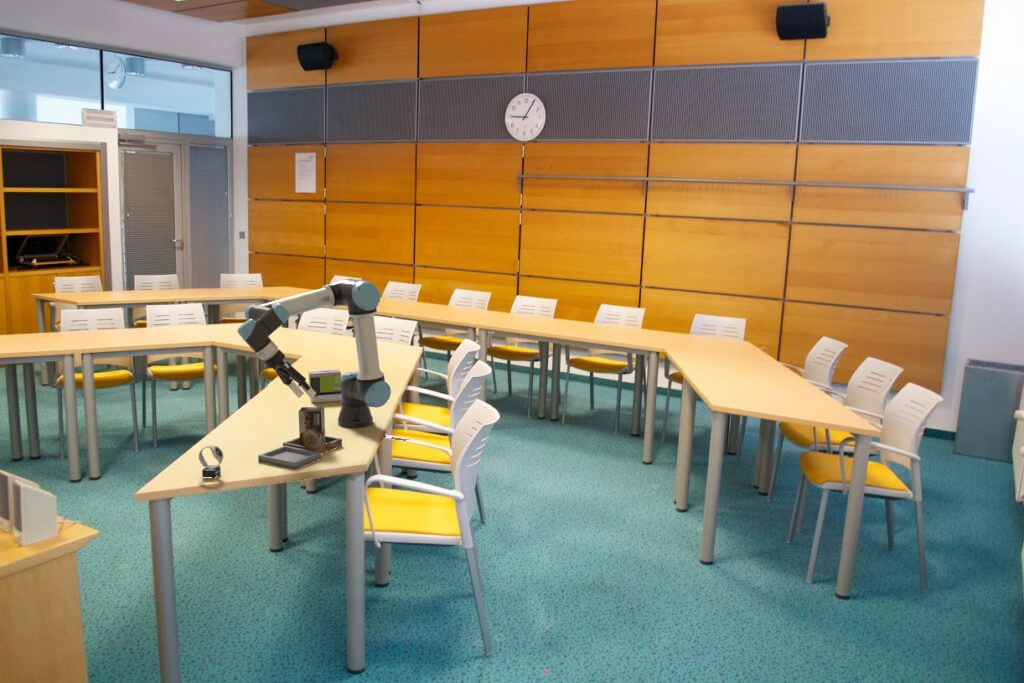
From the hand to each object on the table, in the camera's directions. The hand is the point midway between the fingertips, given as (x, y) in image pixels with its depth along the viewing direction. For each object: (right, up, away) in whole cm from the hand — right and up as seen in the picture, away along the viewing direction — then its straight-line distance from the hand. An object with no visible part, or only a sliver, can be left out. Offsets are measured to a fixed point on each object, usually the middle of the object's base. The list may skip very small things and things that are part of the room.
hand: (307, 395), depth 308 cm
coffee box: (+1, -21, +4) cm, 22 cm away
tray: (-4, -24, -11) cm, 26 cm away
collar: (+1, -21, +4) cm, 21 cm away
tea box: (-13, -8, +83) cm, 85 cm away
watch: (-26, -27, -30) cm, 48 cm away
